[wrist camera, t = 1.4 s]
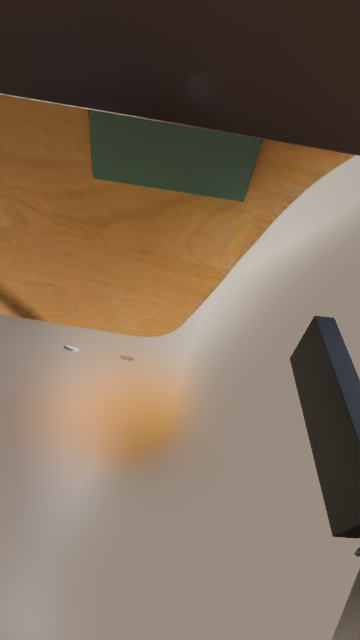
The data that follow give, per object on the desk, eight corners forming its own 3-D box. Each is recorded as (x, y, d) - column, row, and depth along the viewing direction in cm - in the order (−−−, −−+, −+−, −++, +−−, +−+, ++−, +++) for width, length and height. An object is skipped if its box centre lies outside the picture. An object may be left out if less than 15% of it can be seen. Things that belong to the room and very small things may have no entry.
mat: (243, 200, 38) (243, 201, 37) (93, 176, 37) (92, 178, 36) (282, 63, 28) (284, 64, 28) (84, 26, 27) (82, 27, 27)
